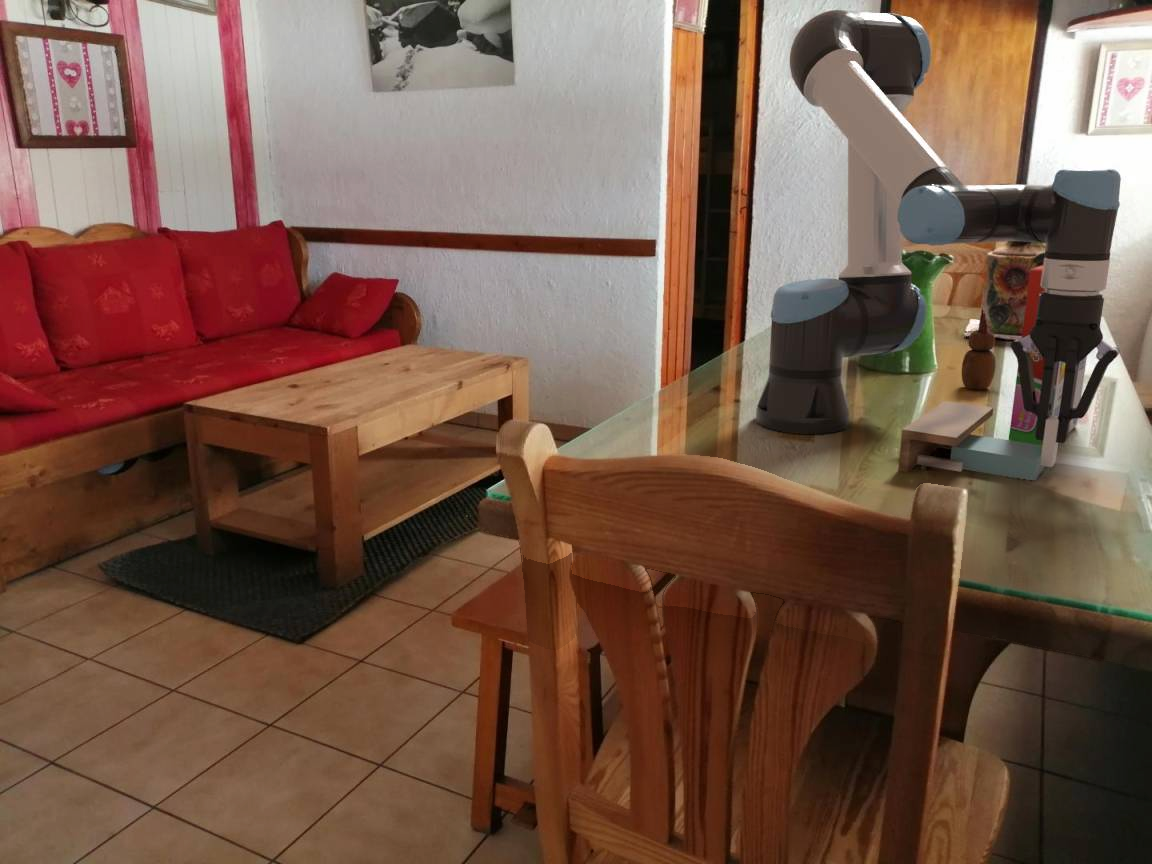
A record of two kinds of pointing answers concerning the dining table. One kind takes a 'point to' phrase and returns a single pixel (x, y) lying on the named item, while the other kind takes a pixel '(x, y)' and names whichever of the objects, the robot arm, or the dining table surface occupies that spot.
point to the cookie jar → (1008, 288)
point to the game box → (1038, 374)
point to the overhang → (940, 434)
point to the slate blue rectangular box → (999, 456)
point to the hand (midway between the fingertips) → (1047, 463)
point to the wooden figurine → (979, 358)
